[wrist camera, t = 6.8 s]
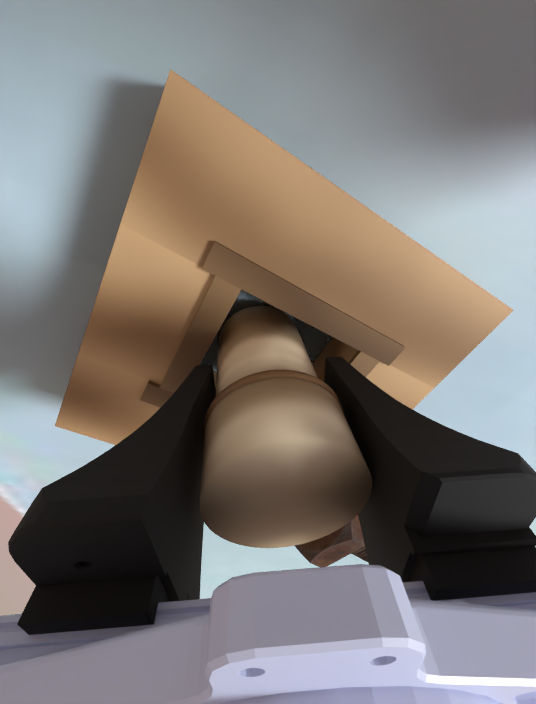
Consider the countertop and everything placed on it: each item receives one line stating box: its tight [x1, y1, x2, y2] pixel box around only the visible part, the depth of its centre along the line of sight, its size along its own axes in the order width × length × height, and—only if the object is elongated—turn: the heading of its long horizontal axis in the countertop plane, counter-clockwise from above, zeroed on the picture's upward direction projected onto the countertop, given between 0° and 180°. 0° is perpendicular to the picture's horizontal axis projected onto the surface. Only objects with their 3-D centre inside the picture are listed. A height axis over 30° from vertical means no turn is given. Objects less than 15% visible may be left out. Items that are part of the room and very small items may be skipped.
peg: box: [199, 306, 372, 548], centre depth 11 cm, size 4×4×8 cm
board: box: [55, 69, 513, 445], centre depth 14 cm, size 14×14×3 cm
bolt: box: [295, 515, 368, 567], centre depth 22 cm, size 6×5×15 cm
